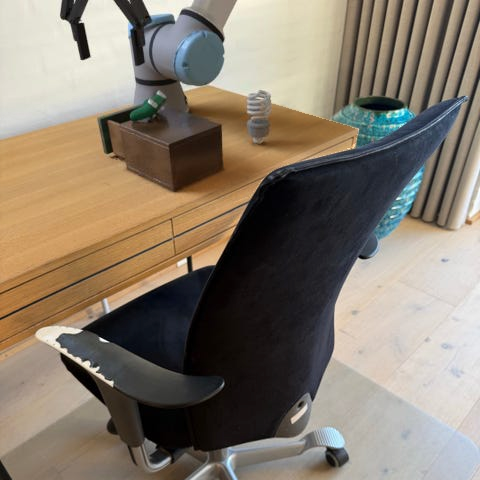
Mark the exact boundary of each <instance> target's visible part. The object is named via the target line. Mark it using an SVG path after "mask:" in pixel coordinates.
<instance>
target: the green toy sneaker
mask: <svg viewBox="0 0 480 480" xmlns="http://www.w3.org/2000/svg"><path fill="white" fill-rule="evenodd" d="M166 100H167V98H166V96H165V95H164V94H163V93H162V92H161V91H160V90H158V92H157V93H156V95H155V96H154V97H151V98H148V99H146V100H145V101H144V102H143V106H142V107H140V108H138V109H136V110H134V111H133V112H132V113H131V114H130V118H131V121H139V120H143V119H146V118H148V117H149V118H151V117H153V118H154V117H155V116H156V114H155V113H156V112H157V114H158V113H159V112H160V110H159V109H160V107H162V106H163V105H164V103H165V102H166ZM154 114H155V115H154ZM153 118H152V119H153Z"/></svg>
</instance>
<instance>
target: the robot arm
mask: <svg viewBox="0 0 480 480" xmlns="http://www.w3.org/2000/svg"><path fill="white" fill-rule="evenodd" d="M88 2H89V0H61V3H60V11H59V18H60V19H61V20H62V21H66V22H68V23H69V24H70V29H71V33H72V38H73V40H74V42H76V45H77V50H78V54H79V60H80V61H86V60H87V59H91V58H92V55H91V51H90V46H89V40H88V37H87V31H86V26H85V22H82V21H83V20H82V17H83V14H84V12H85V9H86V8H87V5H88ZM113 2H114V3H115V5H116V6H117V7H118V9H119V10H120V12H121V13H122V14H123V15H124V17H125V18H126V20H127V21H128V23H127V34H128V35H127V36H128V40H129V47H130V53H131V60H132V67H133V74H134V75H133V76H134V81H135V89H134V95H133V104H132V107H134V106H137V105H140V104H143V102H144V101H145V100H146V99H148V98H151V97H154V96H155V95H156V93H157V92H158V90H160V91H161V92H162V93H163V94H164V95H165V96H166V98H167V100H166V102H165V103H164V105H163V106H162V107H160V109H159V110H160V111H161V110H164V109H167V108H171V107H173V108H176V109H179V110H182V111H185V112H188V113H190V105H189V102H188V101H189V100H188V99H189V98H188V97H187V95H186V94H185V92H184V90H183V86H182V84H183V85H187V86H194V87H204V86H207V85H209V84H211V83H212V82H214V81H215V80H216V79H217V78H218V76H219V75H220V73H221V71H222V70H223V66H224V63H225V57H224V55H225V47H224V43H225V41H226V37H225V32H224V27H225V26H226V24H227V22H228V20H229V17H230V15H231V14H232V12H233V10H234V8H235V5H236V4H237V2H238V0H193V1H192V4H191V5H190V6H187V7H183V8H181V10H180V12H179V14H178V17H177V18H176V20H175V16H174V14H172V13H160V14H151V15H150V13H149V10H148V9H147V7H146V4H145V3H144V0H113Z"/></svg>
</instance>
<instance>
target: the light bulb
mask: <svg viewBox="0 0 480 480" xmlns="http://www.w3.org/2000/svg"><path fill="white" fill-rule="evenodd" d="M271 98H272V96H271V94H270V93H269V92H267V91H266V90H260V89H258V90H257V92H256V93H255V92H253V93H248V94H247V99H246V103H247V105H246V109H247V110H246V113H247V114H248V115H250V116H252V117H250V119H248V120H247V123H246V127H247V129H246V130H247V134H248V136H250V137H252V141H253V142H254V143H255V144H256V145H260V144H262V143H263V142H264V140H265V138H264V137H268V136H269V135H270V129H271V122H270V121H271V120H269V119H268V117H269V116H270V114H271V111H272V105H271V104H272V99H271Z"/></svg>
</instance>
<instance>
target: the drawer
mask: <svg viewBox="0 0 480 480" xmlns="http://www.w3.org/2000/svg"><path fill="white" fill-rule="evenodd" d="M142 106H143V104H140V105H137V106H134V107H133V106H131V107H127V108H124V109H121V110H118V111H115V112H111V113H108V114H104V115H102V116H99V117H96V121H97V126H98V129H99V134H100V139H101V144H102V149H103V153H104V154H106V155H109V154H112V153H113V154H114V155H116V156H118V157H119V158H122V159H124V160H125V155H124V150H123V144H122V138H121V133H120V127H119V124H121V123H124V122H128V121H131V118H130V114H131V113H132V112H133V111H134V110H136V109H138V108H140V107H142Z"/></svg>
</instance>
